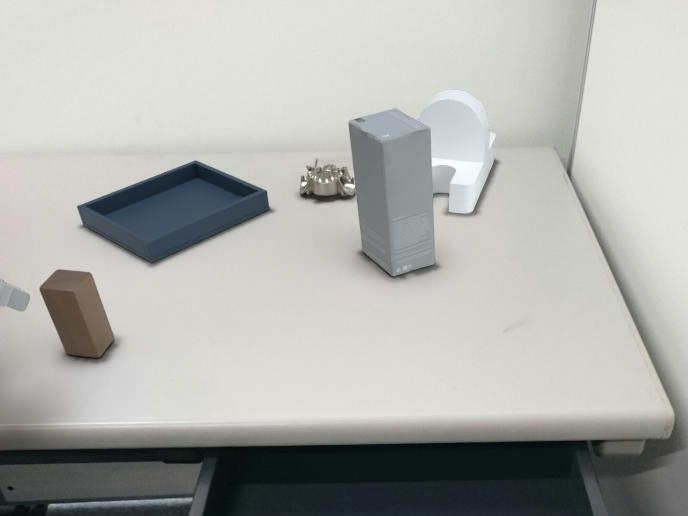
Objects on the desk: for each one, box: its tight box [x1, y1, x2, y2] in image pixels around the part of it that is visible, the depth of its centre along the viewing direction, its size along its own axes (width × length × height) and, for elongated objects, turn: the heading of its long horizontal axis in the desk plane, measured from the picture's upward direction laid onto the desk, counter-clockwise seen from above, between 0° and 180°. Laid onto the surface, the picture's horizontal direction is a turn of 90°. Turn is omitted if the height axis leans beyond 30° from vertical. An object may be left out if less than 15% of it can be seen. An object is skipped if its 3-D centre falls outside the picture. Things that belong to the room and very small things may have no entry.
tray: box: [76, 159, 271, 264], centre depth 98 cm, size 16×20×3 cm
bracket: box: [416, 89, 497, 215], centre depth 102 cm, size 19×10×11 cm, turn 166°
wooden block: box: [38, 268, 115, 359], centre depth 76 cm, size 4×4×8 cm
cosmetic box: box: [348, 107, 436, 277], centre depth 85 cm, size 8×7×16 cm
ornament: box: [298, 163, 356, 197], centre depth 102 cm, size 8×7×4 cm
